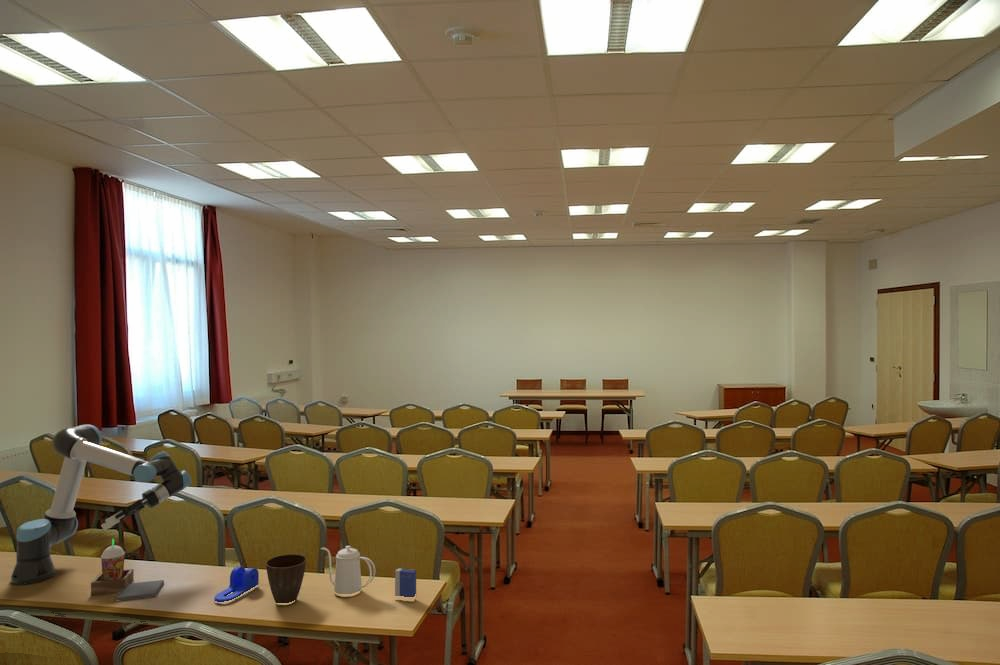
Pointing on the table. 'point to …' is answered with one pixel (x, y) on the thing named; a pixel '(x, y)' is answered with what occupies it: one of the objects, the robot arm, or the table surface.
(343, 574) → the coffeepot
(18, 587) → the table surface
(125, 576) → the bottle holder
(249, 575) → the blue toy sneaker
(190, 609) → the table surface
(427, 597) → the table surface
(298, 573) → the plant pot
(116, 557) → the smoothie
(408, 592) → the walkman
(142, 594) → the mat
